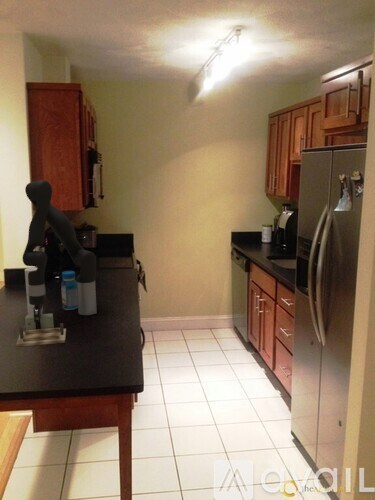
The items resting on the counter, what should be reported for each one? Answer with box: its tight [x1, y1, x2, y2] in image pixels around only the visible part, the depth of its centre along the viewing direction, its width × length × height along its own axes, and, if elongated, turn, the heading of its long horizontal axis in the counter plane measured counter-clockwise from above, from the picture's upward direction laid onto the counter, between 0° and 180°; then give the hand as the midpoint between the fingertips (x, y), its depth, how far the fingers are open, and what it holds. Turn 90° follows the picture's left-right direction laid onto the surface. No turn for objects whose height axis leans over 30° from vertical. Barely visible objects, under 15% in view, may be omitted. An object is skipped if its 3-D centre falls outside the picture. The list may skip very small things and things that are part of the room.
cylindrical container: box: [24, 266, 44, 315], centre depth 222 cm, size 7×7×25 cm
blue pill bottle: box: [60, 270, 78, 311], centre depth 236 cm, size 8×8×20 cm
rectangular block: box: [24, 313, 55, 331], centre depth 205 cm, size 12×6×7 cm, turn 104°
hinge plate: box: [15, 322, 67, 348], centre depth 196 cm, size 20×14×6 cm
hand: (39, 326), depth 206 cm, fingers open, 7 cm apart
